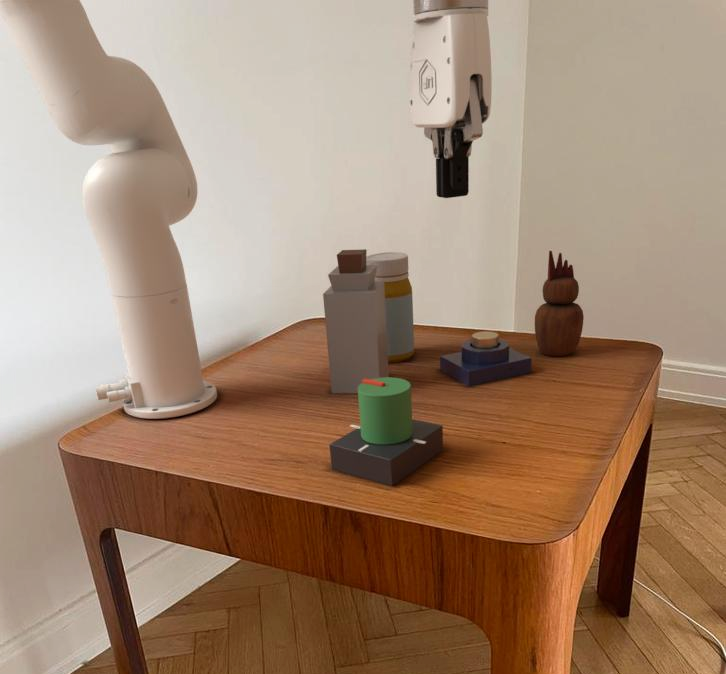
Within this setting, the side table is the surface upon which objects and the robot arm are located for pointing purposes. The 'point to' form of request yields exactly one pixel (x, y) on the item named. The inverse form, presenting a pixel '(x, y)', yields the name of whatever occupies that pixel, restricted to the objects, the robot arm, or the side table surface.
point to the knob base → (386, 454)
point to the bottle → (396, 303)
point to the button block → (484, 363)
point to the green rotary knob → (385, 410)
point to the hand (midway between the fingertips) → (452, 195)
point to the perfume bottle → (355, 323)
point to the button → (485, 340)
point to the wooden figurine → (559, 311)
